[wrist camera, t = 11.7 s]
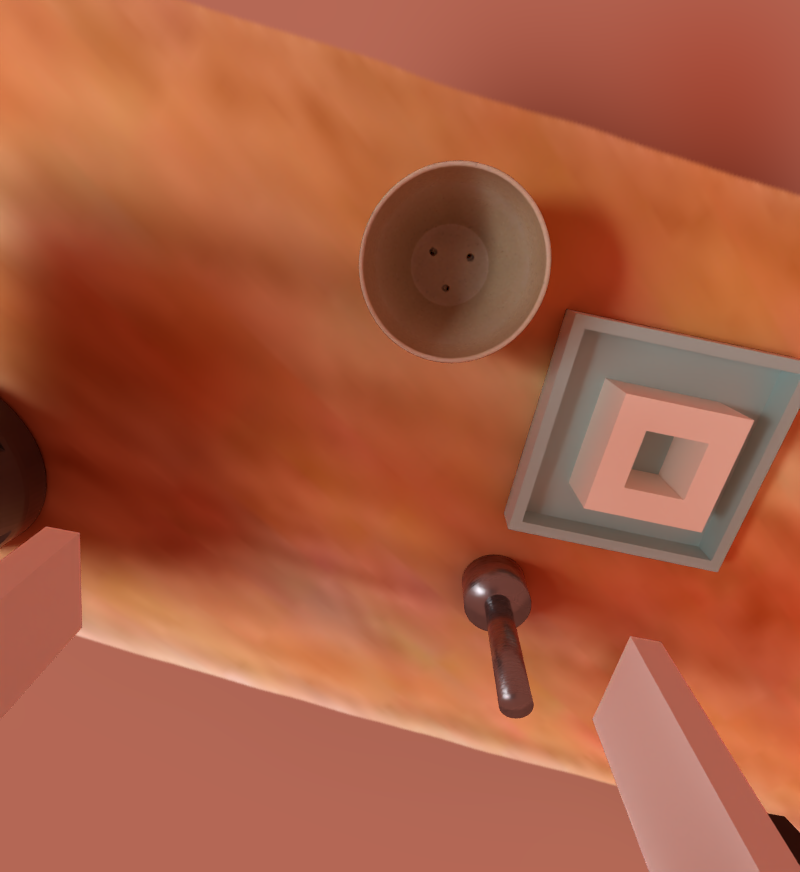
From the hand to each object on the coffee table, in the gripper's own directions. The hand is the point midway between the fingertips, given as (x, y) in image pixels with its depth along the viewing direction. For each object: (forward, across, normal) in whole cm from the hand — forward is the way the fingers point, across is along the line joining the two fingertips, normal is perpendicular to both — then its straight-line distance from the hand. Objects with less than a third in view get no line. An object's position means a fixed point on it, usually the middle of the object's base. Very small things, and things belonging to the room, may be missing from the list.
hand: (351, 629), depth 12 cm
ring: (+24, +18, -1) cm, 30 cm away
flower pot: (+26, +2, +8) cm, 27 cm away
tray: (+25, +18, -1) cm, 31 cm away
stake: (+25, +11, -15) cm, 31 cm away
